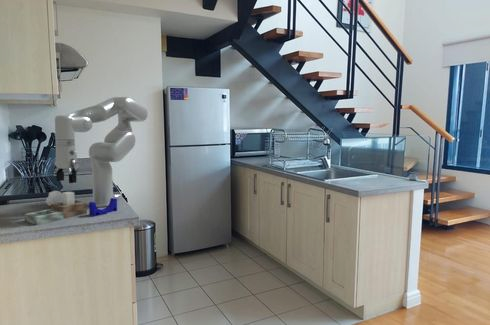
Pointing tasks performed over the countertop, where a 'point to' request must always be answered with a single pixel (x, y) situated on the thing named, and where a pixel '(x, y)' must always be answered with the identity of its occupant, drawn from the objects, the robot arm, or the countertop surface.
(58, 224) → the countertop surface
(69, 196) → the peg
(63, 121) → the robot arm
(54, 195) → the white round lump
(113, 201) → the blue curved block
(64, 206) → the socket block
